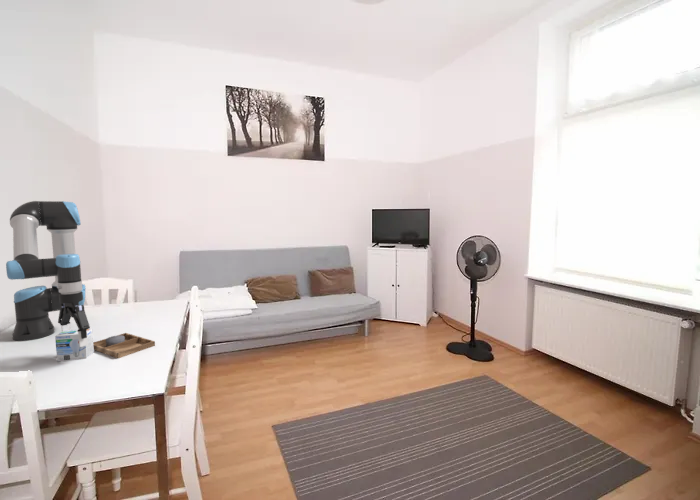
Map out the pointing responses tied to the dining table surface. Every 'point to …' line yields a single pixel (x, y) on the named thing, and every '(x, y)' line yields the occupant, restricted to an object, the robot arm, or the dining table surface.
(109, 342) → the grey smooth rounded part
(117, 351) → the wooden divided tray
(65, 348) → the light bulb box
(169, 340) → the dining table surface
